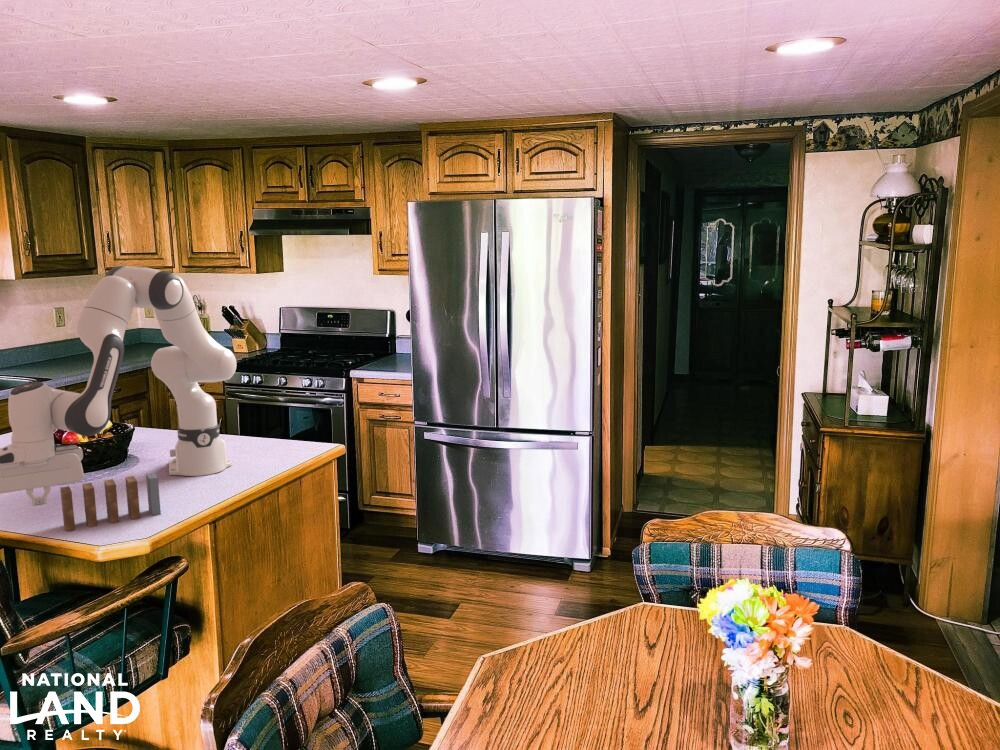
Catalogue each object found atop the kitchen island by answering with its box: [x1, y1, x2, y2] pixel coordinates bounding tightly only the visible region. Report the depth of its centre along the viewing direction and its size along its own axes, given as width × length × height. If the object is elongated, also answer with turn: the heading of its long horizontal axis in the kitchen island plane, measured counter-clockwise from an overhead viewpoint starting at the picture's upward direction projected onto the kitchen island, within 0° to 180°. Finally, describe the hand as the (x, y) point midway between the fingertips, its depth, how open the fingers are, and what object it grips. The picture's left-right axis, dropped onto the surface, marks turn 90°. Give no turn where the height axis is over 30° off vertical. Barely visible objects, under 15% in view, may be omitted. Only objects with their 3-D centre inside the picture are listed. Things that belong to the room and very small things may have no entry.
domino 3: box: [103, 478, 120, 524], centre depth 205 cm, size 2×5×10 cm, turn 34°
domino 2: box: [81, 482, 98, 528], centre depth 202 cm, size 2×5×10 cm, turn 34°
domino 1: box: [60, 485, 76, 532], centre depth 199 cm, size 2×5×10 cm, turn 34°
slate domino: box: [145, 472, 162, 516], centre depth 210 cm, size 2×5×10 cm, turn 34°
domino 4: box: [124, 475, 141, 520], centre depth 207 cm, size 2×5×10 cm, turn 34°
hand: (39, 504), depth 196 cm, fingers closed
